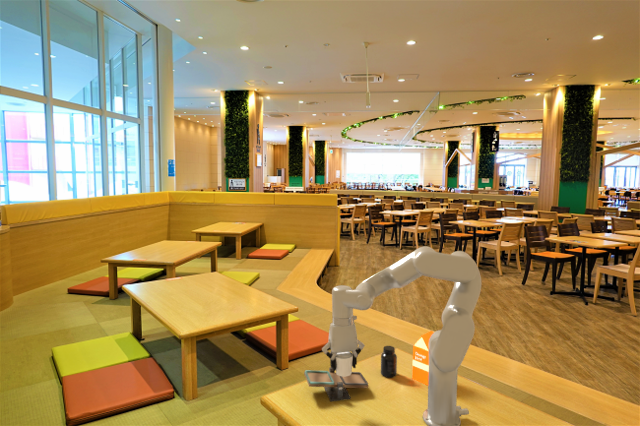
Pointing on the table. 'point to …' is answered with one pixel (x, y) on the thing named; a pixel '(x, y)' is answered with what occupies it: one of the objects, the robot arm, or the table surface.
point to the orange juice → (421, 359)
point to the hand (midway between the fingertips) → (343, 367)
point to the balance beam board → (334, 379)
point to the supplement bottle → (388, 362)
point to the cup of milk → (344, 363)
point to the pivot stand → (337, 391)
